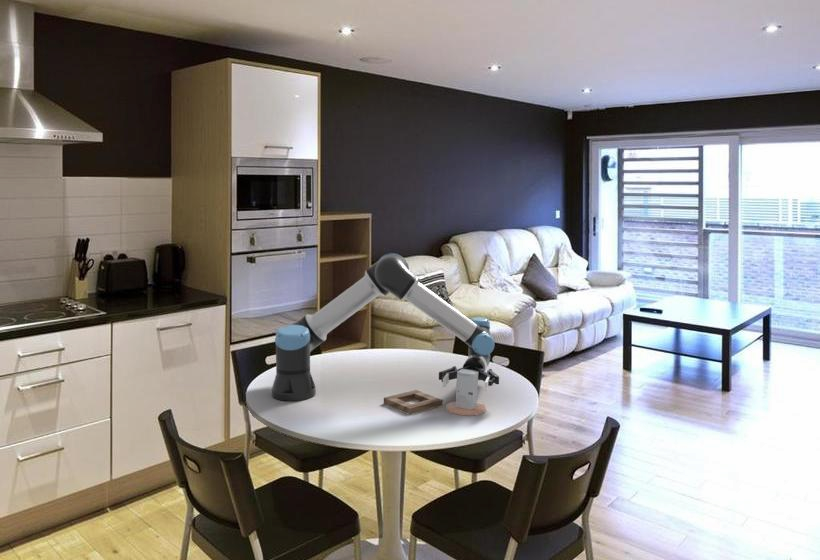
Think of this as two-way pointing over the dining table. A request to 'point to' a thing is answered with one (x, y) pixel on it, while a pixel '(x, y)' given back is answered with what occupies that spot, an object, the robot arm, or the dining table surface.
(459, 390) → the skincare box
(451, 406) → the coaster
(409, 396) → the socket block
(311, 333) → the robot arm
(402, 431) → the dining table surface
